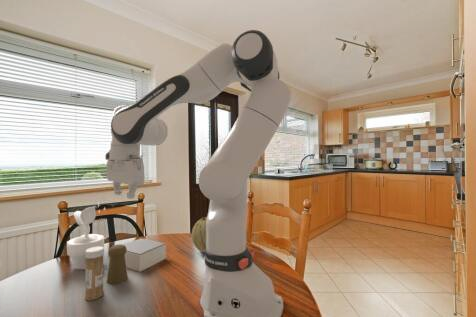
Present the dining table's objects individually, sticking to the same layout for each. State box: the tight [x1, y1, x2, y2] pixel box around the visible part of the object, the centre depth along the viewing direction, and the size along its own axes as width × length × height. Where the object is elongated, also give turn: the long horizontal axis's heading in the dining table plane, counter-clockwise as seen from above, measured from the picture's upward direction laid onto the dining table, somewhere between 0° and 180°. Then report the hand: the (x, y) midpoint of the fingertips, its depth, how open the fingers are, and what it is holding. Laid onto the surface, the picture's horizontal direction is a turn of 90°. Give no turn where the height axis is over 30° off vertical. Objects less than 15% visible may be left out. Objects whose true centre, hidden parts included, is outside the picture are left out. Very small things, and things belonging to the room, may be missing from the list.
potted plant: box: [66, 199, 106, 271], centre depth 83 cm, size 13×12×25 cm
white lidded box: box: [123, 237, 167, 272], centre depth 87 cm, size 14×12×6 cm
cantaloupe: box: [191, 216, 207, 253], centre depth 96 cm, size 15×15×15 cm
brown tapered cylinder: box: [106, 244, 129, 286], centre depth 73 cm, size 6×6×11 cm
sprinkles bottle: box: [84, 246, 105, 301], centre depth 64 cm, size 5×5×13 cm
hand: (124, 196), depth 75 cm, fingers open, 8 cm apart
